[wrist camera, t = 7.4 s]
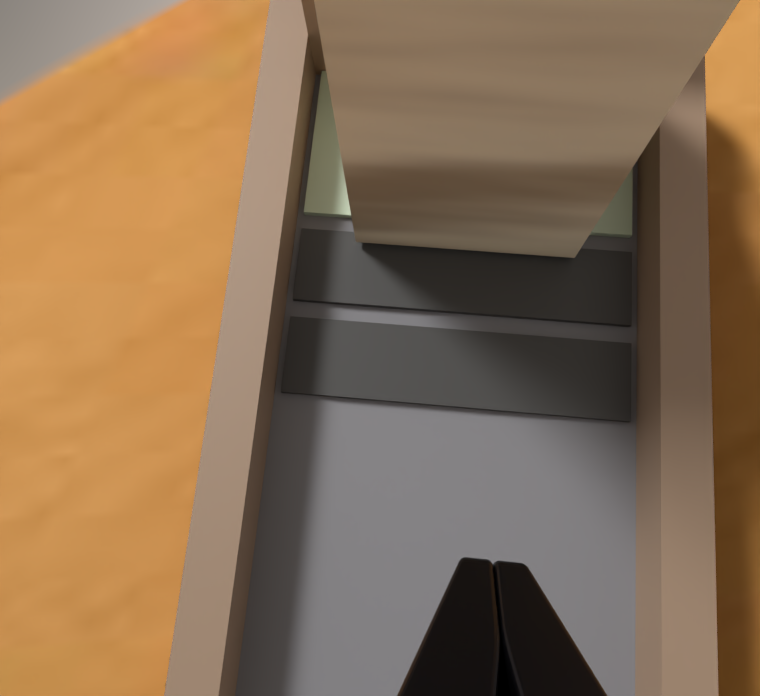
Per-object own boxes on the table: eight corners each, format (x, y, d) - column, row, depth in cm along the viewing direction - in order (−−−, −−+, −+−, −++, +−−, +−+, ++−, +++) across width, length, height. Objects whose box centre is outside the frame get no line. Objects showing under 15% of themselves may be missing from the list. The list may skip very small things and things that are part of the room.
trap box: (668, 841, 17) (773, 968, 12) (185, 784, 18) (103, 883, 13) (664, 85, 22) (737, -39, 17) (288, 63, 23) (256, -63, 18)
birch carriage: (578, 261, 19) (799, -71, 8) (352, 245, 19) (286, -95, 9) (582, 93, 20) (780, -383, 10) (369, 80, 21) (332, -393, 10)
